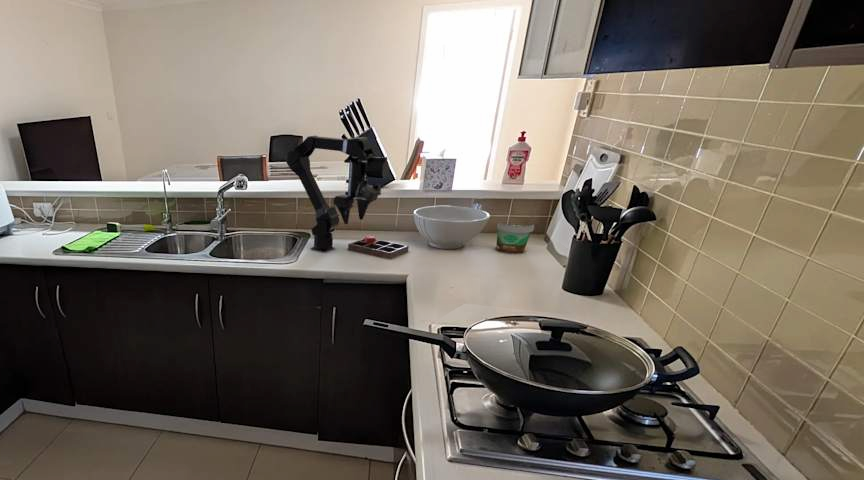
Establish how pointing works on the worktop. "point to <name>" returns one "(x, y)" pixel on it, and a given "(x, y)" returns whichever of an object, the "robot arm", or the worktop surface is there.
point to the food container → (512, 238)
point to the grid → (378, 248)
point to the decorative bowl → (449, 225)
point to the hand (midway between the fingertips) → (353, 221)
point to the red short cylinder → (369, 239)
